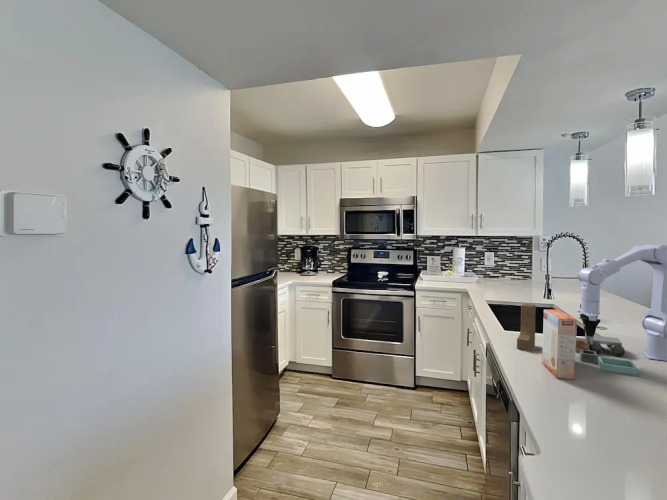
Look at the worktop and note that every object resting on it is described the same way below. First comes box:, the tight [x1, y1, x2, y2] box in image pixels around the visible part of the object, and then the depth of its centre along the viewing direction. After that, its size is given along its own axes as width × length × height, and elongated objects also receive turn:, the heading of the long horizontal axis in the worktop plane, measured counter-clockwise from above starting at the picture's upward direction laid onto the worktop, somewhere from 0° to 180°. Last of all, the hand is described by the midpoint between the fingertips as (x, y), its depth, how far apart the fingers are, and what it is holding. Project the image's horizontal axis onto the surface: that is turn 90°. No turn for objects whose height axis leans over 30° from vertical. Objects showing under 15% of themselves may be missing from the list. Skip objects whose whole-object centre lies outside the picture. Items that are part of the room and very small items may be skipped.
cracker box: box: [541, 309, 578, 380], centre depth 124 cm, size 14×6×21 cm, turn 167°
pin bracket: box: [578, 349, 599, 364], centre depth 134 cm, size 5×5×3 cm
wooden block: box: [516, 303, 536, 352], centre depth 148 cm, size 9×4×18 cm, turn 134°
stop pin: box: [583, 325, 593, 345], centre depth 133 cm, size 4×4×7 cm
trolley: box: [589, 335, 626, 358], centre depth 142 cm, size 11×11×5 cm
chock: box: [575, 337, 589, 354], centre depth 143 cm, size 5×4×5 cm
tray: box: [597, 356, 639, 377], centre depth 125 cm, size 10×8×2 cm
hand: (589, 334), depth 133 cm, fingers closed on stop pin, 3 cm apart
